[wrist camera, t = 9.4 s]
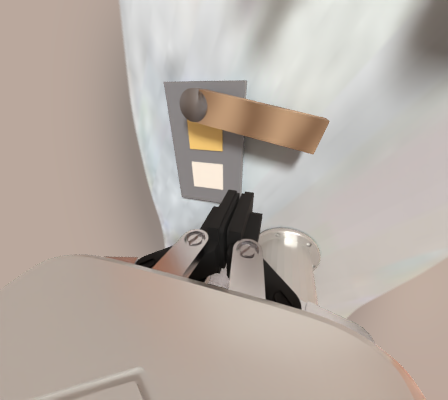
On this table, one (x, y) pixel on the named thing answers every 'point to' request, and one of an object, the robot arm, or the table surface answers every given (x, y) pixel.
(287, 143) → the swing bar
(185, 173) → the label board
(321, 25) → the table surface
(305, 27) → the table surface
